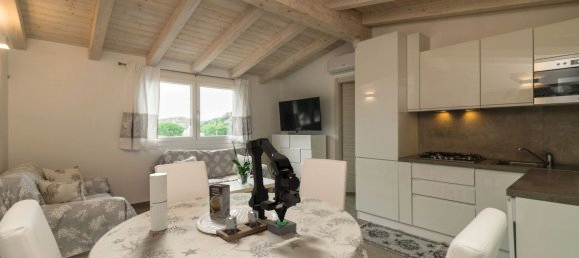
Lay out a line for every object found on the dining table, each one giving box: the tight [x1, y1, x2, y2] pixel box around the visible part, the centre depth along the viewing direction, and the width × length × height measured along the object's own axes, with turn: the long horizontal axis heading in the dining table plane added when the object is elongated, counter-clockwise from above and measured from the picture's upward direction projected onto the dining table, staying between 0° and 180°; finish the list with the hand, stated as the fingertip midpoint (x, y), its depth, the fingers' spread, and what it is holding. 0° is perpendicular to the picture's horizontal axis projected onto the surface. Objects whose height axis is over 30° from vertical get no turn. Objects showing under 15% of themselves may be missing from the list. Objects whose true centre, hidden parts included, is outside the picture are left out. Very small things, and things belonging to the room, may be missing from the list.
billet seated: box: [225, 215, 238, 235], centre depth 113 cm, size 4×4×7 cm
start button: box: [277, 220, 286, 226], centre depth 117 cm, size 4×4×2 cm
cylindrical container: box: [149, 172, 169, 232], centre depth 123 cm, size 7×7×25 cm
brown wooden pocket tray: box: [215, 219, 267, 242], centre depth 116 cm, size 10×20×2 cm, turn 132°
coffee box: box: [208, 182, 231, 219], centre depth 141 cm, size 9×6×16 cm
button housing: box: [266, 218, 297, 237], centre depth 117 cm, size 9×9×4 cm
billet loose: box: [247, 210, 259, 228], centre depth 120 cm, size 4×4×7 cm
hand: (281, 221), depth 117 cm, fingers closed, pressing on start button
